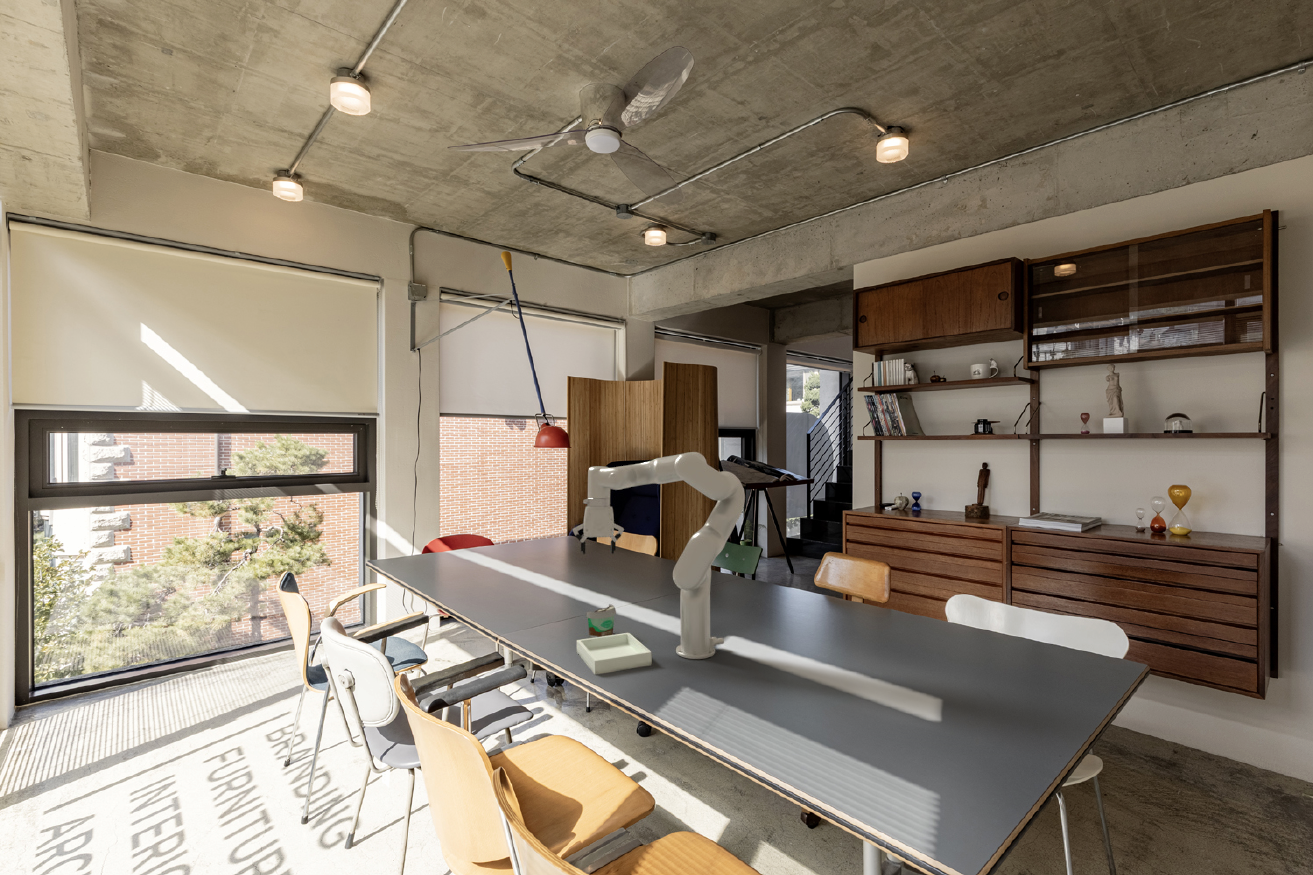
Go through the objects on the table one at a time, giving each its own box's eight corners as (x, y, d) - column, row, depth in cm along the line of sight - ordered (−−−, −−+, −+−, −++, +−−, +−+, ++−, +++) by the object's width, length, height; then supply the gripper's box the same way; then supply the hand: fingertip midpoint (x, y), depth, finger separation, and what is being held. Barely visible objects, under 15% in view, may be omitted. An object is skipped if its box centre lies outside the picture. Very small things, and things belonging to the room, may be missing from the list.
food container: (599, 644, 203) (599, 614, 203) (586, 640, 207) (586, 611, 207) (623, 634, 213) (623, 606, 213) (610, 631, 217) (610, 603, 217)
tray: (628, 644, 203) (628, 632, 203) (651, 664, 184) (651, 651, 184) (576, 652, 196) (576, 640, 196) (594, 674, 177) (594, 660, 177)
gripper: (573, 504, 200) (573, 556, 200) (625, 504, 203) (624, 554, 203) (572, 501, 207) (571, 551, 207) (622, 501, 210) (621, 550, 210)
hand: (598, 553), depth 205 cm, fingers open, 9 cm apart
